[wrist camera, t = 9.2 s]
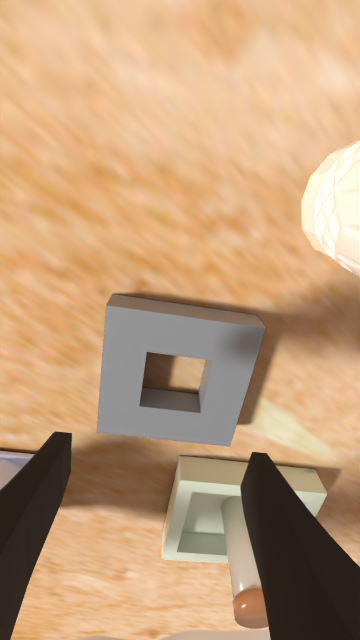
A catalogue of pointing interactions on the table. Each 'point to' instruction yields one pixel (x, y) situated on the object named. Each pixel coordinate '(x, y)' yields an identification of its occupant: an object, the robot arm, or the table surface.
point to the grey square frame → (180, 340)
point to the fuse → (242, 567)
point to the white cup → (335, 207)
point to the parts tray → (217, 505)
